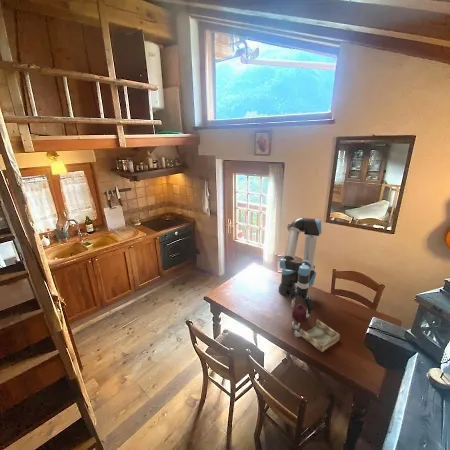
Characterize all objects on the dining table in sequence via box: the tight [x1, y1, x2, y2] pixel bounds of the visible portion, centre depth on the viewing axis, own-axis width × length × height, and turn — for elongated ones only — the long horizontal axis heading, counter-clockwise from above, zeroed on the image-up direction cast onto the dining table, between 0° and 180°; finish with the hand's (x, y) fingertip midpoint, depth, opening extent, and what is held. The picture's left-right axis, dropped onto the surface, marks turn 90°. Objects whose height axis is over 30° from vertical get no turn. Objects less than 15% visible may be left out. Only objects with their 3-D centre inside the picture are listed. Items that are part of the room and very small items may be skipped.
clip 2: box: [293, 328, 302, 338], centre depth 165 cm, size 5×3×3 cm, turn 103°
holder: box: [299, 318, 341, 353], centre depth 163 cm, size 17×17×4 cm
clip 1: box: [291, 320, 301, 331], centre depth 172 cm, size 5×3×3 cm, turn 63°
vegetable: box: [291, 303, 308, 322], centre depth 179 cm, size 10×10×15 cm
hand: (300, 311), depth 181 cm, fingers open, 13 cm apart
